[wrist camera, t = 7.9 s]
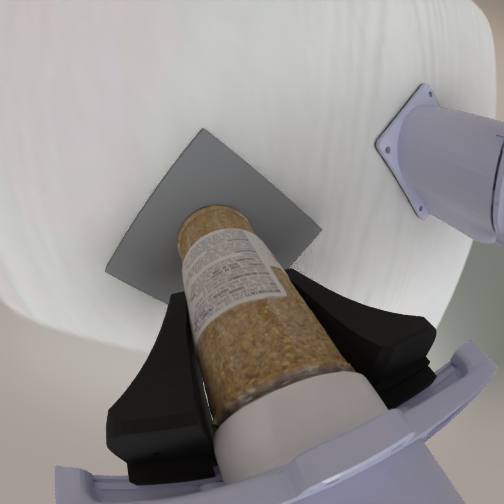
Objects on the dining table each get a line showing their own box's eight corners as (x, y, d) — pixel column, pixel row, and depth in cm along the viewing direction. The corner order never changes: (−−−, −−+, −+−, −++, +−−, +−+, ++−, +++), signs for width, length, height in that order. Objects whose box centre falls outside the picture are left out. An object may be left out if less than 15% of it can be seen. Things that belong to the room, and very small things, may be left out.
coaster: (318, 225, 19) (322, 229, 18) (227, 326, 20) (229, 332, 20) (202, 128, 13) (203, 128, 13) (106, 266, 15) (104, 271, 15)
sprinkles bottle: (255, 261, 18) (376, 458, 6) (186, 280, 17) (245, 509, 6) (246, 193, 15) (428, 399, 4) (166, 212, 14) (207, 494, 3)
